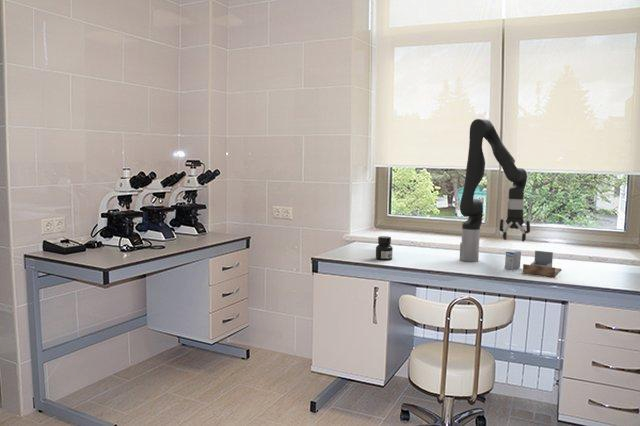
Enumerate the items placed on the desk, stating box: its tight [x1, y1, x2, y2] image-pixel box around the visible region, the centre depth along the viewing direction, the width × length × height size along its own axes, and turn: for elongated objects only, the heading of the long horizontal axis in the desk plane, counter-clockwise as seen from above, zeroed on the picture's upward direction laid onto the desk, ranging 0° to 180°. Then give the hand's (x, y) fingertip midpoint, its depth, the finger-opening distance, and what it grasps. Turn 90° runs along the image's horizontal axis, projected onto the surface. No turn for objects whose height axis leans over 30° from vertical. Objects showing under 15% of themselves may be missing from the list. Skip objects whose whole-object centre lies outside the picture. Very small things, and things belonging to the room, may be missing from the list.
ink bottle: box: [375, 235, 394, 261], centre depth 283 cm, size 10×9×12 cm
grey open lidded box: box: [529, 250, 554, 267], centre depth 254 cm, size 8×12×9 cm, turn 148°
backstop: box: [522, 263, 562, 279], centre depth 258 cm, size 14×23×4 cm, turn 148°
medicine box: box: [504, 249, 522, 271], centre depth 265 cm, size 8×4×9 cm, turn 135°
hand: (514, 240), depth 264 cm, fingers open, 8 cm apart
